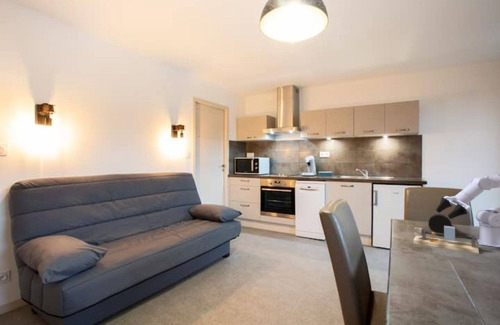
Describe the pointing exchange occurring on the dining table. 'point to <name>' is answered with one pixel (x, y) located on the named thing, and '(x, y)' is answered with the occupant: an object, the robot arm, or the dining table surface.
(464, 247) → the cord board
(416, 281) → the dining table surface
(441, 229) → the black cylinder
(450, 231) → the light blue block
